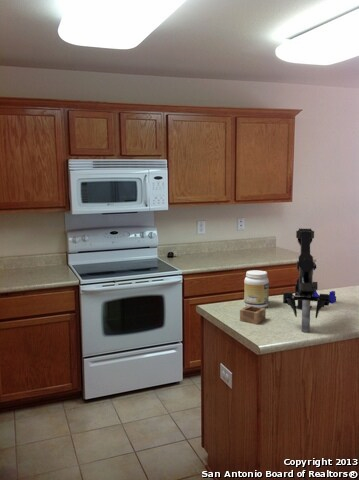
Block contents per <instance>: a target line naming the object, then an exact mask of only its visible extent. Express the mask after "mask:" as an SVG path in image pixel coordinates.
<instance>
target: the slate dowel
mask: <svg viewBox="0 0 359 480" xmlns="http://www.w3.org/2000/svg"><path fill="white" fill-rule="evenodd" d="M310 306H311V301H310V300H302V309H301V332H302V333H307V334H308V333H310V332H311V331H310V330H311V308H310Z"/></svg>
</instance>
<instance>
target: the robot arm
mask: <svg viewBox="0 0 359 480" xmlns="http://www.w3.org/2000/svg"><path fill="white" fill-rule="evenodd" d="M295 238H296V239H297V243H298V245H299V246H300V255H299V256H298V260H297V261H296V270H298V278H297V279H296V283H295V287H294V293H293V292H292V291H284V292H283V293H282V302H283V304H287V305H288V306H290V308H291V309H292V312H293V313H294V316H295V318H297V317H298V316H297V313H298V312H297V309H298V310H299V309H300V310H302V300H310V302H317V303H316V310H315V319H317V318H318V315H319V312H320V311H321V309H322V308H324V307H327V306H328V307H329V305H330V303H329V302H330V295H329V294H330V293H319V294H318V295H319V297H313V296H314V291H315V290H316V291H317V290H318V288H319V287H318V286H319V285H318V281H314V280H313V275H314V271H315V270H316V269H317V264H316V262H315V261H314V256H312V254H311V244H312V243H313V239H315V230H312V228H298V230H296V232H295ZM296 301H297V305H296ZM312 307H313V306H312V305H310V309H311V308H312Z"/></svg>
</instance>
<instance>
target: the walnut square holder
mask: <svg viewBox="0 0 359 480" xmlns="http://www.w3.org/2000/svg"><path fill="white" fill-rule="evenodd" d="M265 320H266V307H264V308H260V307H255V306H245V307H243V308H241V309H240V310H239V321H240V322H244V323H247V324H254V325H258V324H260V323H262V322H263V321H265Z"/></svg>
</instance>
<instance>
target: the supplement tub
mask: <svg viewBox="0 0 359 480" xmlns="http://www.w3.org/2000/svg"><path fill="white" fill-rule="evenodd" d="M243 282H244V290H243V291H244V292H243V293H244V297H243V299H244V301H243V303H244V305H245V307H247V306H255V307H260V308H266V307H268V305H269V302H270V301H269V295H270V293H269V291H270V281H269V278H268V272H267V271H264V270H259V269H258V270H256V269H255V270H254V269H253V270H247V271H246V274H245V277H244V281H243Z"/></svg>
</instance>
